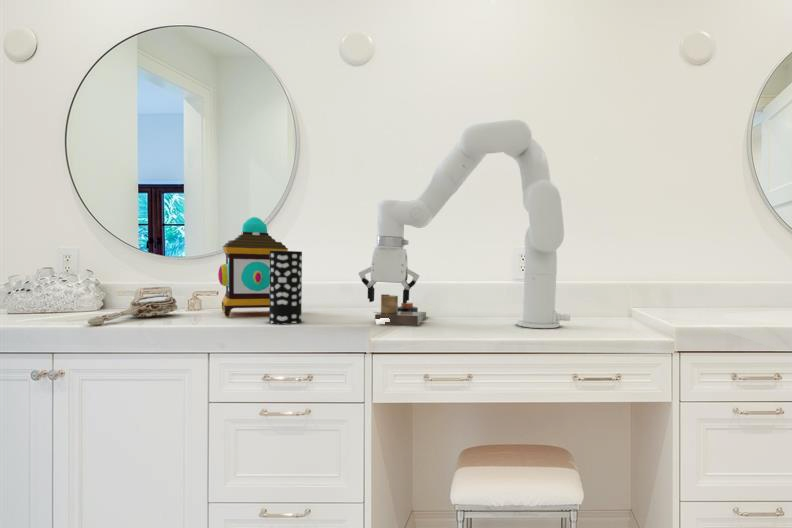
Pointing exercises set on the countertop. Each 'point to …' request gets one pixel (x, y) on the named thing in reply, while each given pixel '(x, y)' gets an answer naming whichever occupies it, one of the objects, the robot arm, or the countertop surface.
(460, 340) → the countertop surface
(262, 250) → the decorative lantern
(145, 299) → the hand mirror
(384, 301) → the knob
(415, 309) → the button block
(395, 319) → the panel
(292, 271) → the white-spotted black cylinder
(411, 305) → the button
